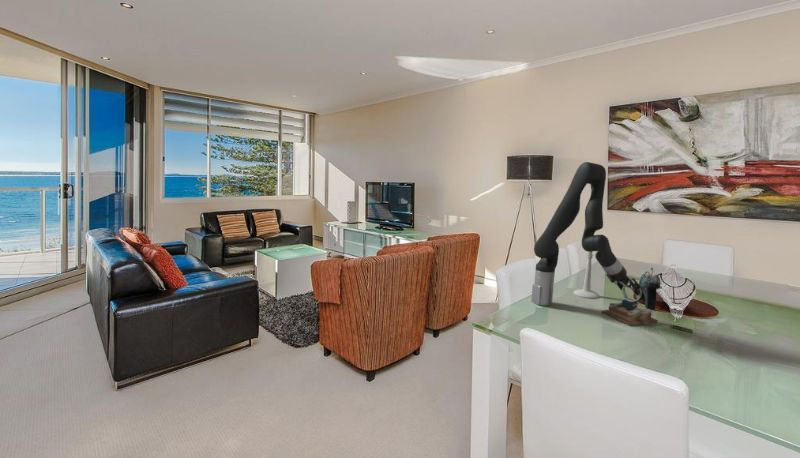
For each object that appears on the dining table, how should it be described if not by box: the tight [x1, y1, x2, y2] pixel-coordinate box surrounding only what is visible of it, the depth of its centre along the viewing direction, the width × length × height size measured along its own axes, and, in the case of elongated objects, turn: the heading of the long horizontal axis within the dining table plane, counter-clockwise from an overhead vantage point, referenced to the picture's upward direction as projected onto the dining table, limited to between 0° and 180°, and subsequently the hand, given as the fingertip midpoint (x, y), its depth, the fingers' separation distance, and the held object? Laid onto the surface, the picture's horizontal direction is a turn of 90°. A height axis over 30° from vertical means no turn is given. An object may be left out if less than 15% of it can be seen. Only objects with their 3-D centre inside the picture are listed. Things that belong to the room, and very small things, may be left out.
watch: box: [621, 283, 642, 310], centre depth 175 cm, size 6×8×11 cm
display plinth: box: [600, 301, 659, 327], centre depth 176 cm, size 16×16×6 cm
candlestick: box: [573, 251, 600, 300], centre depth 207 cm, size 13×13×30 cm
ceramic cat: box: [638, 267, 661, 311], centre depth 194 cm, size 20×6×20 cm, turn 161°
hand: (630, 291), depth 174 cm, fingers closed on watch, 8 cm apart
